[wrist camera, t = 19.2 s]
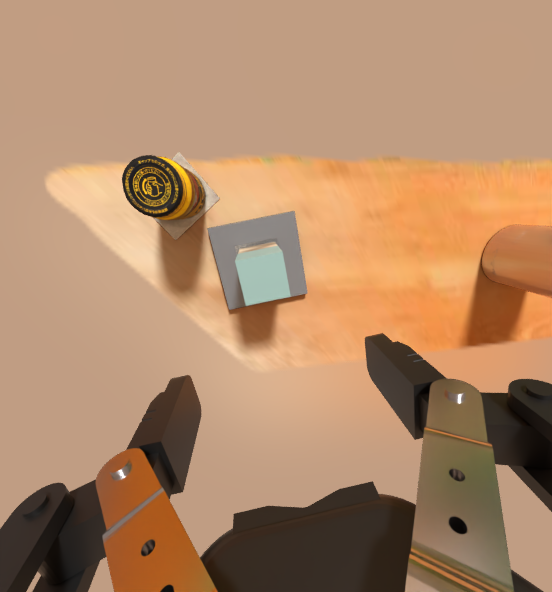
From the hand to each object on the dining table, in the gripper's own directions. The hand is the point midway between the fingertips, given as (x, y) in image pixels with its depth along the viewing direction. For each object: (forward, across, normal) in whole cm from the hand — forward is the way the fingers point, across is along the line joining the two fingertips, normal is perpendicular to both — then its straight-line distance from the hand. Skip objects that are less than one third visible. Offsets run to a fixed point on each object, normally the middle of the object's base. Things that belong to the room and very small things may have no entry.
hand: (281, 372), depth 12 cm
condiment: (+28, +9, -10) cm, 32 cm away
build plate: (+28, 0, 0) cm, 28 cm away
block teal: (+22, 0, 0) cm, 22 cm away
